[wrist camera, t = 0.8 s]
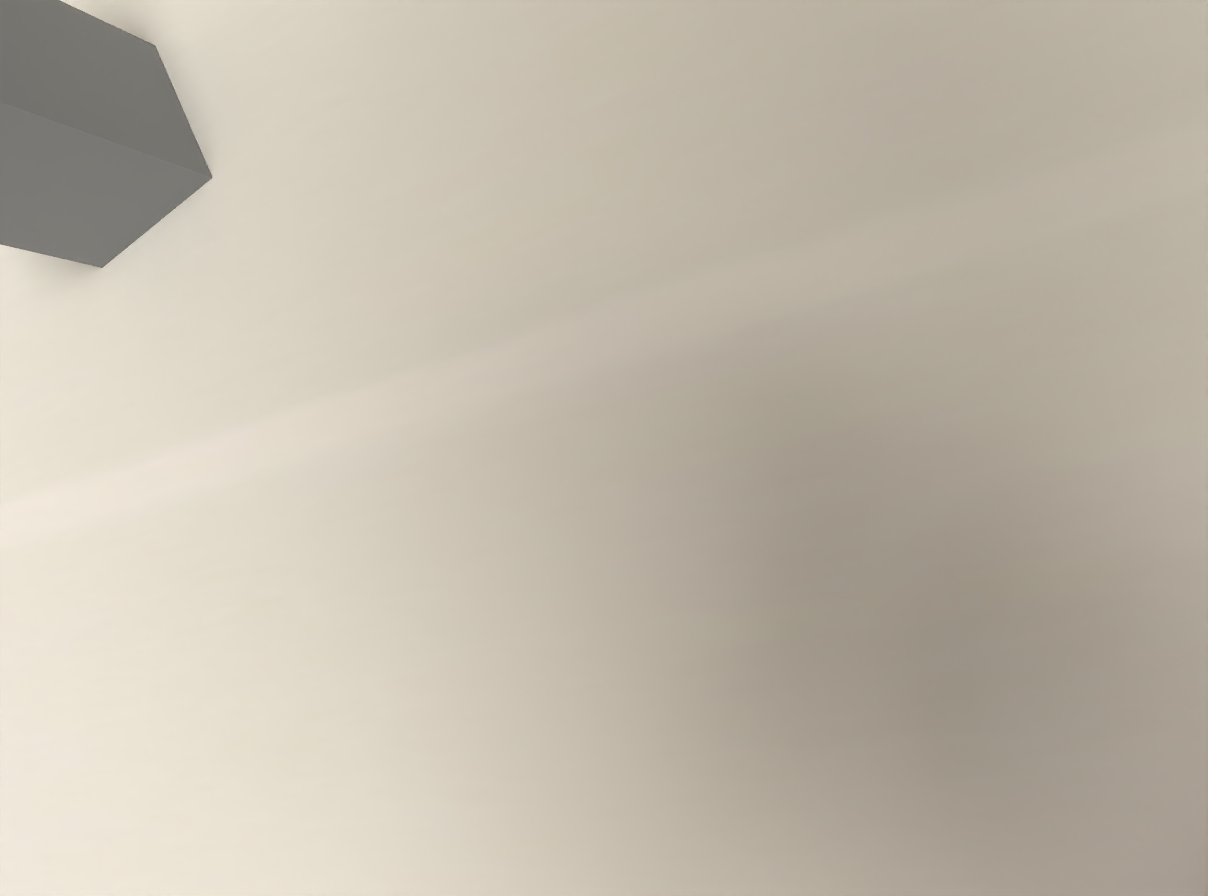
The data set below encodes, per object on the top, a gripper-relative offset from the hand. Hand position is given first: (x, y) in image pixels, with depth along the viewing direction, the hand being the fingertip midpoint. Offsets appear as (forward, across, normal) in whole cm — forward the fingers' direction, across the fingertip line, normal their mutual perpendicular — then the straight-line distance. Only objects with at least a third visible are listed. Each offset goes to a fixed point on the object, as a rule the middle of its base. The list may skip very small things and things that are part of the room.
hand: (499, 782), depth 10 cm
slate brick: (+31, -24, -2) cm, 39 cm away
